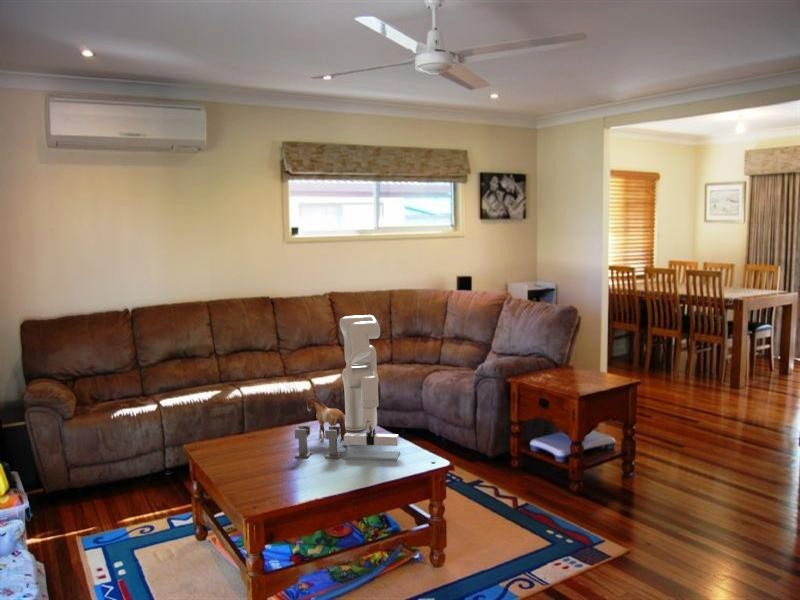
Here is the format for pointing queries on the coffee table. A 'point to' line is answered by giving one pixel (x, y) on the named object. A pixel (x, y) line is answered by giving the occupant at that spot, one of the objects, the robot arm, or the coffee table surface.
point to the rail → (378, 439)
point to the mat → (371, 455)
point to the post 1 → (303, 441)
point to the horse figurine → (327, 417)
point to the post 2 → (333, 442)
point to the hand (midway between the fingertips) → (371, 442)
